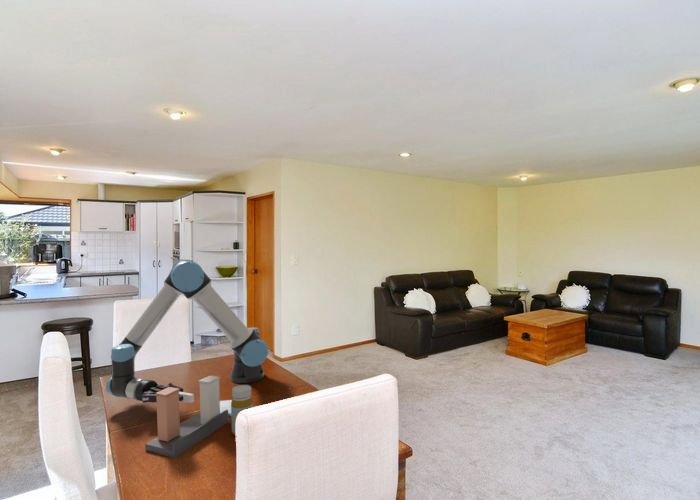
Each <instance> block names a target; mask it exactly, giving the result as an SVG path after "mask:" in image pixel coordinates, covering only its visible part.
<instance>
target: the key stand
mask: <svg viewBox="0 0 700 500" xmlns="http://www.w3.org/2000/svg"><path fill="white" fill-rule="evenodd" d="M228 423H229V416H228V410H225V411H223V412H222V413H220V414H219V415H217V416H215V417H214V418H212V419H210V420H209V421H207V422H206V423H204V424H201V415H200V412H198V413H196V414H195V415H193V416H191V417H189V418H188V419H186V420H184V421H183V422H181V423H180V434H179V435H178V436H176V437H175V438H173V439H171V440H170V441H168V442H167V441H162V440H158V436H156V437H154V438H152V439H151V440H149V441H148V442H146V443H144V447H145V448H144V449H145V451H148V452H151V453H154V454H158V455H162V456H166V457H170V458H175V459H176V458H177V457H178V456H180V455H182V454H183V453H184V452H186V451H187V450H189V449H190V448H192V447H193V446H195V445H197V444H198V443H199V442H201V441H202V440H204V439H205V438H207V437H208V436H210V435H211V434H213V433H215V432H216V431H218V429H220V428H222V427H223V426H225V425H226V424H228Z"/></svg>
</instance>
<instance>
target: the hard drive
mask: <svg viewBox="0 0 700 500" xmlns="http://www.w3.org/2000/svg"><path fill="white" fill-rule="evenodd" d="M231 402H232V399H227V400H220V413H222V412H223V411H225V410H228V417H231Z"/></svg>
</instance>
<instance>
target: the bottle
mask: <svg viewBox="0 0 700 500" xmlns="http://www.w3.org/2000/svg"><path fill="white" fill-rule="evenodd" d="M231 397H232V399H231V400H232V402H231V416H230V417H231V434H232V435H233V436H235V419H236V416H237V414H238V413H239V412H240V411H242V410H244V409H248V408H251V407H253V408H254V401H253V398H252V386H251V385H249V384H240V385H236V386H234V387H232V390H231ZM235 437H236V436H235Z"/></svg>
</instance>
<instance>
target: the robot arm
mask: <svg viewBox="0 0 700 500" xmlns="http://www.w3.org/2000/svg"><path fill="white" fill-rule="evenodd" d="M181 295H183V296H185V298H186V299H187V300H193V301H194V302H195V303H196V305H198V307H200V309H201V310H202V311H203V312H204V313H205V314H206V316H207V317H208V318H209V319H210V320H211V321H212V322H213V324H215V326H216V327H217V328H218V329H219V330H220V331H221V332H222V333H223V335H224V336H225V337H226V338H227V339H228V340H229V341H230V349H232V351H233V365H232V368H231V373H230V381H231V382H233V383H236V384H250V383H254V382H259V381H261V380H262V379H264V377H265V370H264V368H263V365H262V364H263V363H264V362H265V361H266V360H267V358H268V355H269V347H268V345H267V342H266V341H265V340H263V339H262V338H261V336H260V329H259V328H258V327H247V326H246V325H245V324H244V323H243V322H242V320H241V319H240V318H239V317H238V316H237V315H236V313H235V311H233V310H232V308H231V307H230V306H229V305H228V304H227V302H226V301H224V299H223V298H222V297H221V296H220V294H218V292H217V291H216V290H215V289H214V288H213V286H212V279H211V277H209V276H208V275H207V273H206V272H205V271H204V270H203V268H202V267H201V265H200V264H198V263H197V262H195V261H194V260H191V259H181V260H179V261H177V262H176V263H175V264H173V266H172V268H171V269H170V272H169V273H168V275H167V277H166V278H165V280H164V281H163V287H161V289H160V290H159V292H158V293H157V294H156V296H155V297H154V298H153V300H152V301H151V303H149V305H148V307H147V308H146V309H145V310H144V311H143V313H142V314H141V316H140V317H138V320H137V321H136V322H135V323H134V325H133V326H132V327H131V329H130V330H129V332H128V333H127V334H126V335H125V337H124V338H123V339H122V341H121V342H120V343H119V344H117V345H115V346H113V347H112V348H111V351H110V352H111V353H110V354H111V355H110V359H111V372H112V373H111V377H110V378H109V379H108V380H107V383H106V384H105V390H106V392H107V394H109V395H111V396H114V397H115V398H124V399H131V400H133V401H134V400H135V401H136V402H137V401H139V402H142V404H143V403H144V404H145V403H157V397H156V396H155V393H157V392H159V391H161V390H163V389H166V388H168V387H173V388H179V389H180V391H179V402H182V403H188V404H191V403H194V402H195V397H194V395H195V394H194V393H190V392H185V391H184V388H183V387H179V386H177V385H174V384H173V383H172V382H171V383H170V382H169V383H168V384H167V385H161V384H158V383H157V382H156V381H155V380H152V379H150V380H149V379H145V378H140V377H136V376H135V375H136V373H135V370H136V369H135V368H136V367H135V365H136V364H135V360H136V355H137V354H138V353H139V351H140V350H141V348H142V347H143V346H144V344H145V343H146V342H147V341H148V339H149V338H150V337H151V335H152V333H154V331H155V330H156V328H157V327H158V325H159V324H160V323H161V322H162V320H163V319H164V317H165V316H166V315H167V314H168V312H169V310H170V309H171V308H172V306H173V305H174V304H175V303H176V301H177V300H178V299H179V298H180V296H181Z"/></svg>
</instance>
